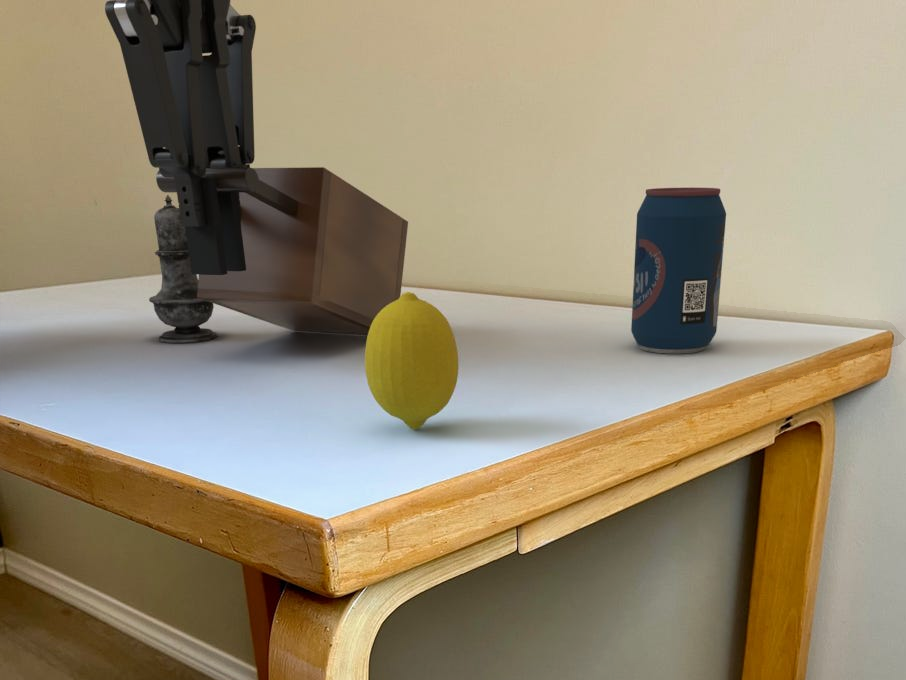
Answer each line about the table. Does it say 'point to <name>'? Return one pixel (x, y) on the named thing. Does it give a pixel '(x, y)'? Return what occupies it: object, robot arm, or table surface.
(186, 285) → the salt shaker
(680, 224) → the soda can
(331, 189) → the wooden handled box
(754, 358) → the table surface
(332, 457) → the table surface
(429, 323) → the lemon
